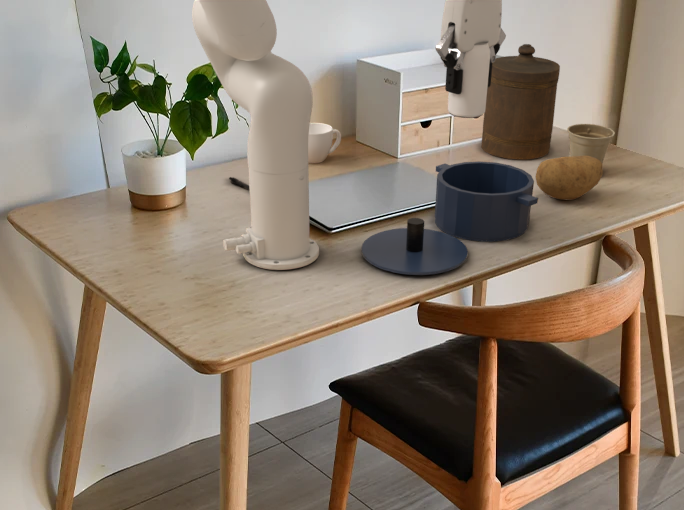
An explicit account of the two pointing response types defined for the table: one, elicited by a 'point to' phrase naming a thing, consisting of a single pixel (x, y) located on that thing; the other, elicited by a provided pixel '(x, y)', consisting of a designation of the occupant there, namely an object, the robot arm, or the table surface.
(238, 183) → the pen
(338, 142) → the cup
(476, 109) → the can
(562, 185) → the potato
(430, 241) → the lid
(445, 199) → the pot
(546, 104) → the wooden container
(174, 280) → the table surface
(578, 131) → the flower pot
